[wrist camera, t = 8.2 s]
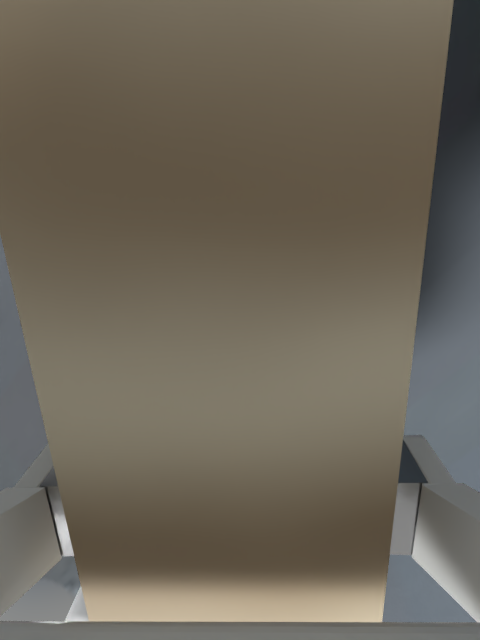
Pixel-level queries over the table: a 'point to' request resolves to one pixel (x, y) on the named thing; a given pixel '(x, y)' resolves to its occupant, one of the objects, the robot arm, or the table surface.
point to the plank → (222, 288)
